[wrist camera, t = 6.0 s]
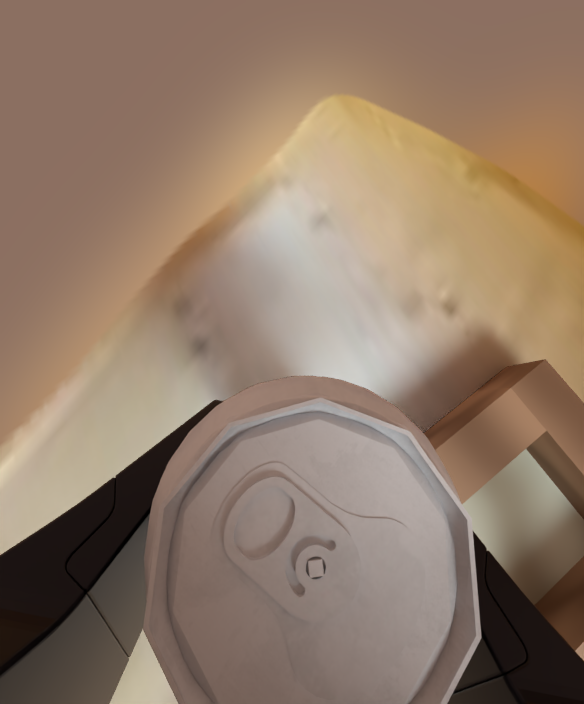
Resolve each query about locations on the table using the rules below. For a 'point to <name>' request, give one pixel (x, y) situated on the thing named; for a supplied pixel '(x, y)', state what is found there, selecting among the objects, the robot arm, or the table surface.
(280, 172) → the table surface
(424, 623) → the beer can
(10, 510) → the table surface
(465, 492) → the socket board
